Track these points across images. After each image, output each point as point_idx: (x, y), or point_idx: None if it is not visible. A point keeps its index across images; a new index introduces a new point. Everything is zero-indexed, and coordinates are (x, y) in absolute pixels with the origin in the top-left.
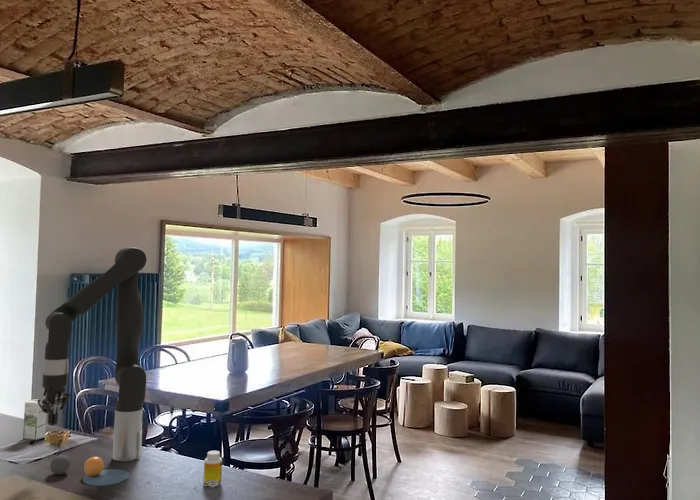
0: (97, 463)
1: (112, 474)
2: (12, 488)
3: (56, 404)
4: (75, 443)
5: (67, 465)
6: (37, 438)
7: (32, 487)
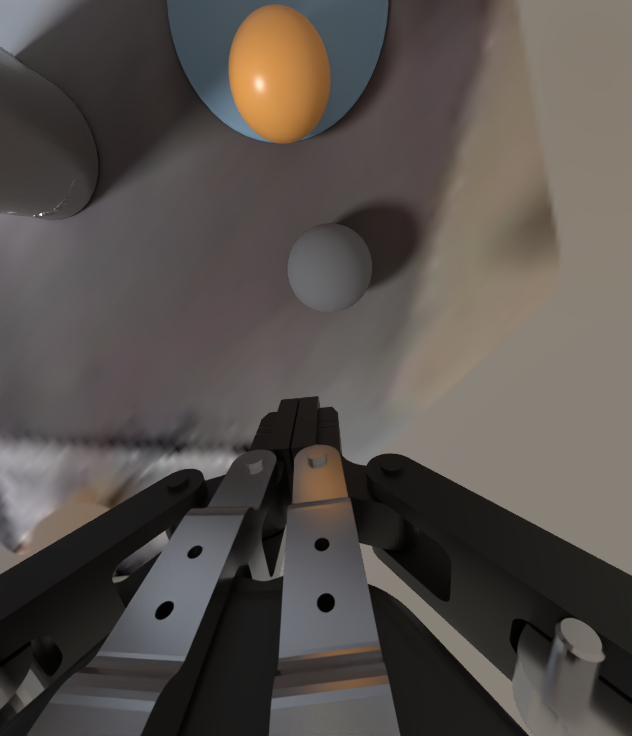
0: (295, 11)
1: (238, 6)
2: (507, 309)
3: (313, 526)
4: (72, 465)
5: (332, 223)
6: (125, 578)
7: (482, 249)
